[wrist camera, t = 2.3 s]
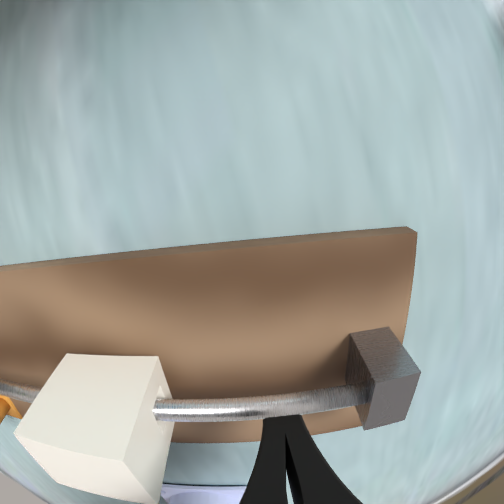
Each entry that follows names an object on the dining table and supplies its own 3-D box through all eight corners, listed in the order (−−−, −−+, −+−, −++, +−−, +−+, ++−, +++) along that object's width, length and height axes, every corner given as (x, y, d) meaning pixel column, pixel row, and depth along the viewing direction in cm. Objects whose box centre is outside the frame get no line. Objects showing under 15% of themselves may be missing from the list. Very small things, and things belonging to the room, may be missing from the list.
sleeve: (177, 410, 13) (158, 505, 8) (92, 404, 13) (57, 482, 8) (158, 356, 12) (122, 460, 7) (66, 353, 12) (13, 433, 7)
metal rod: (374, 361, 15) (404, 419, 11) (-26, 359, 15) (-54, 391, 11) (381, 316, 14) (421, 372, 10) (-41, 327, 14) (-73, 357, 10)
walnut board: (377, 410, 16) (400, 462, 12) (-24, 393, 17) (-46, 422, 12) (406, 226, 13) (465, 261, 8) (-78, 275, 13) (-111, 298, 8)
